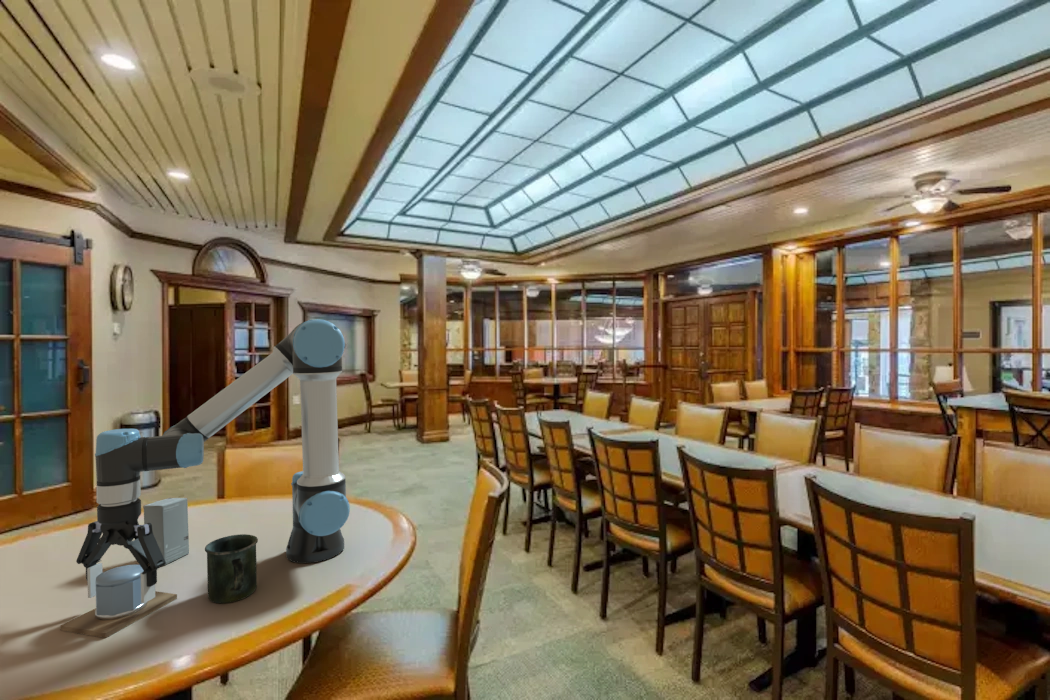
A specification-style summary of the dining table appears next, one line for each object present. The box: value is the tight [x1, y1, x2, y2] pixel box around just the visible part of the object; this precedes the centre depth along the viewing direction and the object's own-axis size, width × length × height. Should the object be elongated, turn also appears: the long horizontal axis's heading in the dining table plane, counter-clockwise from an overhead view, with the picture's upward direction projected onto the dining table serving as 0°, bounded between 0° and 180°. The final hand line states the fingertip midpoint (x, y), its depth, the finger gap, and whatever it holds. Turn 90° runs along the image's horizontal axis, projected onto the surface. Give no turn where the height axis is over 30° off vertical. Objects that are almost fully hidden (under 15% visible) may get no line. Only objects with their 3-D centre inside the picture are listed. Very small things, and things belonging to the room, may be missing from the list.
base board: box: [59, 590, 178, 639], centre depth 112 cm, size 12×16×1 cm
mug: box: [204, 533, 259, 604], centre depth 119 cm, size 11×15×12 cm
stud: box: [95, 602, 147, 620], centre depth 112 cm, size 9×9×6 cm
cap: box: [95, 564, 144, 615], centre depth 112 cm, size 8×8×7 cm
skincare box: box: [142, 497, 190, 566], centre depth 140 cm, size 8×7×16 cm
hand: (121, 597), depth 112 cm, fingers open, 13 cm apart
